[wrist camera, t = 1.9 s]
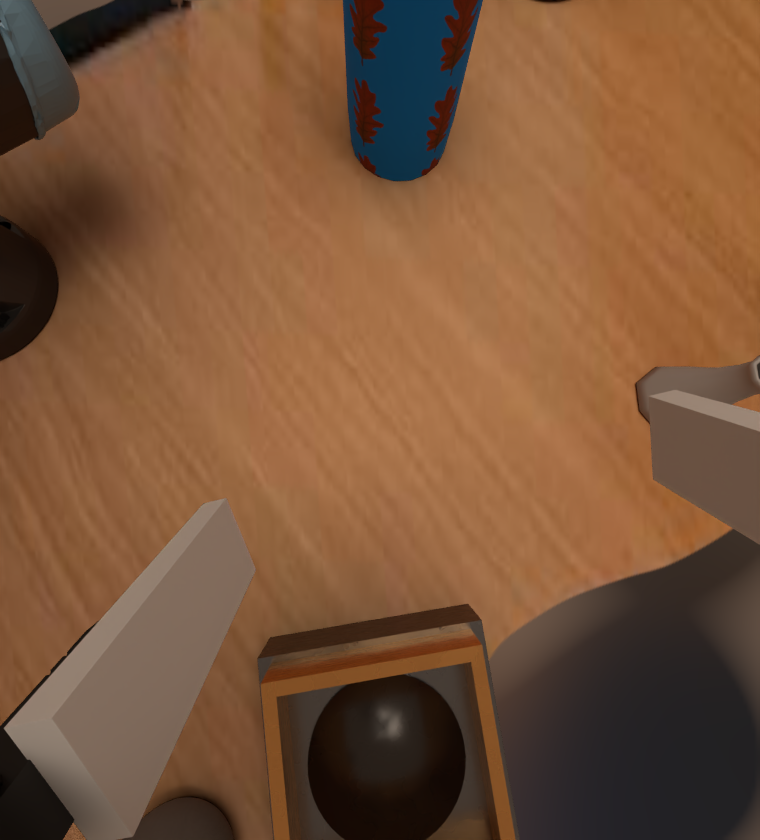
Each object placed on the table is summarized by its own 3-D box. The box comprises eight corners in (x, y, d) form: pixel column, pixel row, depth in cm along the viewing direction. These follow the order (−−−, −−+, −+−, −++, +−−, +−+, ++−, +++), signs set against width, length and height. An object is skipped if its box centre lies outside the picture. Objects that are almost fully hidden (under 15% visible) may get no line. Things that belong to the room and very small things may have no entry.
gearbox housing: (291, 858, 31) (269, 968, 24) (270, 637, 33) (245, 678, 26) (503, 814, 32) (542, 907, 25) (468, 603, 34) (493, 635, 28)
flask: (653, 445, 38) (756, 433, 28) (622, 378, 39) (711, 343, 29) (715, 421, 38) (837, 401, 28) (684, 356, 39) (791, 315, 29)
